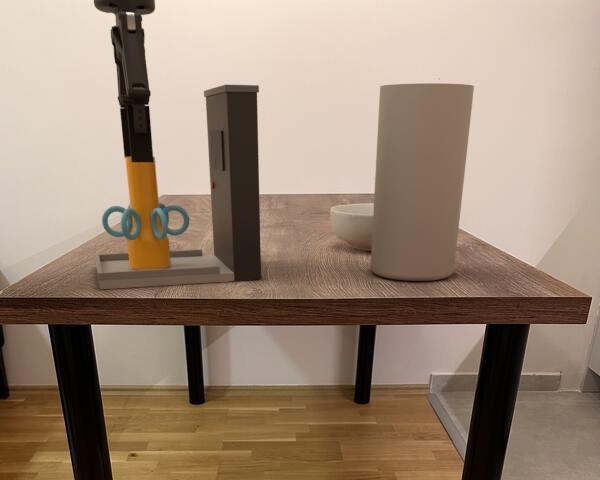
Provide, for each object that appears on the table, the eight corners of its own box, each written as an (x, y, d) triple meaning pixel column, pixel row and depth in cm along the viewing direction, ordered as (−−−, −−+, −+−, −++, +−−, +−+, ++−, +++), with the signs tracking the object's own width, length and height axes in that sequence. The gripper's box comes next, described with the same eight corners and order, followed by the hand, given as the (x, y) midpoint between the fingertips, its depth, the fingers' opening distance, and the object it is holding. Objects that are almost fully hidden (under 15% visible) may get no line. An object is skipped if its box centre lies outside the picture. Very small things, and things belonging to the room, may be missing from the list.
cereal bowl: (311, 246, 119) (311, 206, 116) (376, 238, 128) (378, 201, 125) (372, 259, 107) (374, 215, 104) (439, 250, 116) (443, 209, 113)
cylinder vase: (356, 268, 100) (364, 87, 89) (425, 263, 104) (441, 90, 93) (395, 285, 89) (409, 82, 79) (470, 278, 94) (493, 85, 83)
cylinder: (161, 277, 88) (150, 159, 81) (96, 272, 91) (81, 157, 84) (201, 262, 98) (194, 156, 91) (142, 257, 101) (131, 154, 94)
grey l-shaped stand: (100, 289, 86) (72, 80, 75) (96, 268, 99) (72, 88, 89) (262, 279, 92) (258, 85, 82) (239, 260, 106) (232, 91, 95)
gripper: (165, -48, 69) (177, 164, 78) (143, -6, 91) (155, 156, 100) (93, -55, 67) (114, 164, 76) (88, -10, 88) (106, 156, 98)
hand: (138, 160), depth 88 cm, fingers open, 13 cm apart
